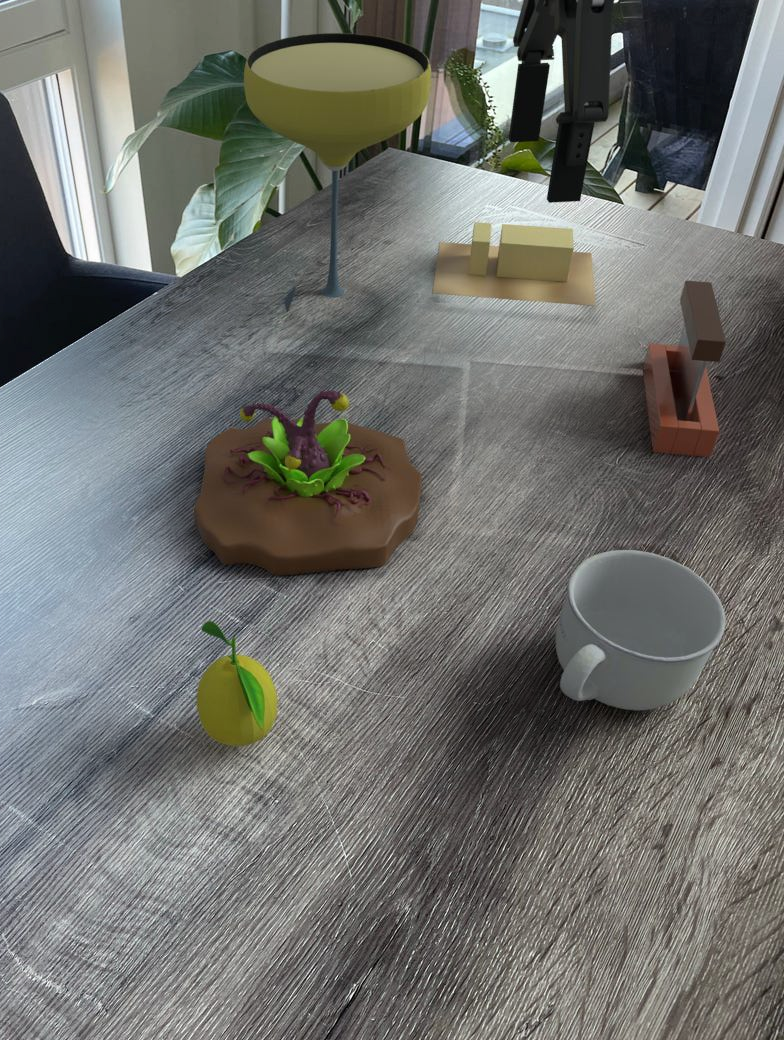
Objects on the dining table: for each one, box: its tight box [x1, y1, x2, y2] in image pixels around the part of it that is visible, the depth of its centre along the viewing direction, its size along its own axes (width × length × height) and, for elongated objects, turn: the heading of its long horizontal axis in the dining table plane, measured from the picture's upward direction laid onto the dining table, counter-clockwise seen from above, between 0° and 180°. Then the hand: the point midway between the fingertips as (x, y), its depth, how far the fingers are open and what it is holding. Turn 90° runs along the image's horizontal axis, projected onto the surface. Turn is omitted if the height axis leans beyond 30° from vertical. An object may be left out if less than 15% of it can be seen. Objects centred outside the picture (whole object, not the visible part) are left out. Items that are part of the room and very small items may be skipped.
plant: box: [192, 389, 423, 576], centre depth 88 cm, size 20×20×11 cm
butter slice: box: [468, 221, 493, 276], centre depth 119 cm, size 2×5×4 cm, turn 171°
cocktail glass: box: [243, 32, 432, 312], centre depth 108 cm, size 18×18×25 cm
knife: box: [670, 280, 727, 421], centre depth 97 cm, size 2×11×10 cm, turn 171°
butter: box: [496, 223, 575, 282], centre depth 118 cm, size 8×5×4 cm, turn 81°
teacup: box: [555, 549, 727, 711], centre depth 74 cm, size 14×11×8 cm
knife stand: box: [641, 342, 720, 458], centre depth 100 cm, size 5×15×4 cm, turn 171°
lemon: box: [196, 620, 278, 747], centre depth 69 cm, size 7×6×10 cm
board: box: [431, 241, 597, 307], centre depth 120 cm, size 18×13×2 cm
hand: (542, 169), depth 93 cm, fingers open, 13 cm apart
